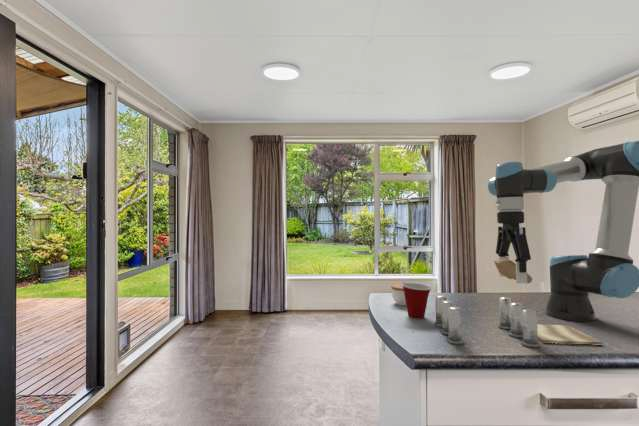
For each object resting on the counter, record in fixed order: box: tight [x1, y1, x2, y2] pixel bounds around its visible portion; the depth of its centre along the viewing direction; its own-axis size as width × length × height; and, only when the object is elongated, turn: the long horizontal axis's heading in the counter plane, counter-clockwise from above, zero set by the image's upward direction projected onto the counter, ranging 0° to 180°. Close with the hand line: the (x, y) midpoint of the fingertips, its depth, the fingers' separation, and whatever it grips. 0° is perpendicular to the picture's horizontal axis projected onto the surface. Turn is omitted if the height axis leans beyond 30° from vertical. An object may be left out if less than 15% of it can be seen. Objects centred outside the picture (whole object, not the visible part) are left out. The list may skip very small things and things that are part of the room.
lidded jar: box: [390, 281, 406, 306], centre depth 146 cm, size 11×11×9 cm
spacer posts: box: [434, 294, 540, 349], centre depth 106 cm, size 25×20×10 cm
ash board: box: [537, 323, 603, 345], centre depth 105 cm, size 16×16×1 cm
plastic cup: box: [401, 282, 432, 320], centre depth 126 cm, size 11×11×12 cm
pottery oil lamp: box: [493, 256, 533, 284], centre depth 106 cm, size 9×12×7 cm
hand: (512, 279), depth 106 cm, fingers closed on pottery oil lamp, 11 cm apart
